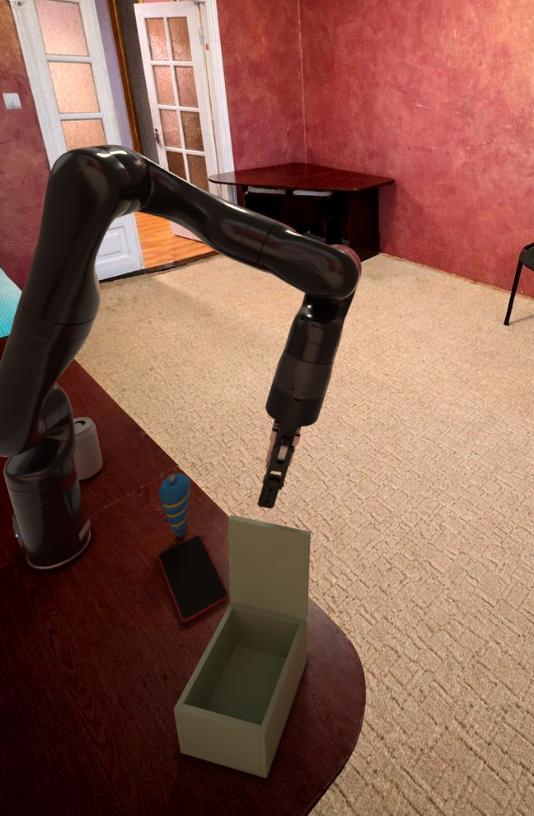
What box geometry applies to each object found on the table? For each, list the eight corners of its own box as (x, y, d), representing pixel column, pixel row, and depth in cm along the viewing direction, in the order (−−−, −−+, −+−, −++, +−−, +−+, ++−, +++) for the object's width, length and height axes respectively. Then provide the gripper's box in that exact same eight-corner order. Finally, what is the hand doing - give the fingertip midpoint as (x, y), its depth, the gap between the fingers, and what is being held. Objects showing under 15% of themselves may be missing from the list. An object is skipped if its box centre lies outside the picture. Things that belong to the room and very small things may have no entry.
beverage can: (109, 462, 106) (101, 417, 102) (89, 484, 100) (79, 436, 96) (82, 459, 106) (73, 413, 102) (60, 480, 100) (49, 433, 96)
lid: (308, 536, 64) (310, 531, 65) (227, 518, 66) (230, 514, 66) (305, 619, 68) (307, 614, 68) (229, 601, 69) (232, 596, 70)
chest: (266, 778, 59) (264, 734, 56) (180, 753, 60) (173, 709, 57) (307, 660, 71) (306, 619, 68) (234, 641, 73) (231, 601, 70)
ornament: (199, 526, 92) (193, 463, 87) (189, 549, 87) (182, 484, 82) (172, 525, 92) (163, 462, 87) (160, 549, 87) (150, 483, 82)
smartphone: (199, 533, 89) (229, 595, 79) (199, 537, 90) (230, 599, 79) (156, 553, 85) (182, 622, 74) (157, 557, 85) (183, 626, 74)
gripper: (279, 359, 73) (250, 454, 75) (267, 399, 59) (233, 515, 61) (327, 371, 74) (298, 464, 76) (326, 413, 60) (291, 525, 63)
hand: (269, 486), depth 69 cm, fingers open, 8 cm apart
